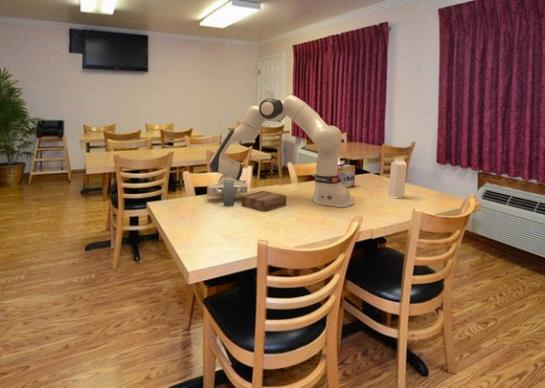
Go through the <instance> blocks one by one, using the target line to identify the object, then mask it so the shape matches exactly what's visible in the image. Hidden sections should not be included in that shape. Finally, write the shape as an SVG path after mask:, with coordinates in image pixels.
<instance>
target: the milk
mask: <svg viewBox="0 0 545 388" xmlns="http://www.w3.org/2000/svg"><path fill="white" fill-rule="evenodd" d="M407 166H408V164H407V163H406V161H405V158H404V157H394V159H393V161H392V162H391V163H390V173H389V184H388V196H389V195H390V196H393V197H405V189H406V188H405V187H406V177H407Z"/></svg>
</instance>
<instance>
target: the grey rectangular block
mask: <svg viewBox="0 0 545 388" xmlns="http://www.w3.org/2000/svg"><path fill="white" fill-rule="evenodd" d="M234 194H235V193H234V181H224V194H223V206H224V207H233V206H234V205H235V196H234Z"/></svg>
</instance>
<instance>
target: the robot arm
mask: <svg viewBox="0 0 545 388" xmlns="http://www.w3.org/2000/svg"><path fill="white" fill-rule="evenodd" d="M286 117H288V118H289V119H290V120H291V121H293V122H294V123H295V124H296V125H297V126H298V127H299V128H301V130H302V131H303V132H304V133H305V134H306V135H307V136H308V138H309V139H310V140H311V141H312V142H313V143H314V146H315V147H317V148H318V152H317V156H316V160H315V161H316V164H315V165H316V167H315V174H314V183H315V184H314V191H313V195H312V198H311V201H312V202H313V203H314V204H315V205H321V206H322V205H323V206H329V207H335V208H347V207H351V206H353V205H354V203H355V200H352V198H351V193H350V190H349V189H348V188H345V187H344V186H343V185H342V184H341V183H340V179H341V178H342V177H339V176H338V175H337V169H338V165H339V156H340V151H341V143H342V138H343V137H342V131H341V130H340V129H339V127H337V126H334V125H328V124H327V123H326V122H325V121H324V120H323V119H322V118H321V117H320V114H318V113H317V112H316V111H315V110H314V109H313V108H312V107H311V106H310V105H309V104H308V103H306V102H305V101H304V100H303V99H302V100H301V99H300V98H299V97H297V96H296V95H292V94H290V95H288V96H286V97H285V98H284V99H283V100H280V99H276V98H266V99H263V100H262V101H261V102H260V104H259V105H251V106H249V107H248V109H247V110H246V112H245V113H244V115H243V117H242V120H241V121H240V123H239V125H238V126H237V127H235V128H231V130H229V132H228V133H227V135H226V136H225V137H224V139H223V141H222V142H221V144H220V146H219V147H218V148H217V150H216V152H215V153H214V154H213V155H212V157H211V158H210V160H209V165H208V167H209V168H210V170H211V172H214V173H217V174H220V175H221V176H220V177H219V179H218V183H217V184H216V183H214V184H212V183H211V184H209V185H208V186H207V189H208V194H212V195H213V194H215V195H216V194H219V195H221V194H222V195H224V181H234V194H242V193H243V194H244V193H248V184H247V183H246V182H244V180H242V179H241V177H242V175H243V170H244V169H243V164H242V162H240V161H237V160H234V159H232V158H230V157H227V156H226V155H224V154H226V152H227V150H228V148H229V147H230V146H231V144H232V143H236V142H251V141H253V140H255V139H257V137H258V135H259V133H260V131H261V129H262V126H263V124H264V123H265V122H266V121H269V122H275V123H277V122H281V121H283V120H284V119H285V118H286Z"/></svg>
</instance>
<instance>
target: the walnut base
mask: <svg viewBox="0 0 545 388" xmlns="http://www.w3.org/2000/svg"><path fill="white" fill-rule="evenodd" d="M241 206H242V207H246V208H249V209H253V210H256V211H257V210H258V211H262V212H265V213H266V212H268V211H272V210H277V209H279V208H282V207H285V206H287V195H285V194H281V193H275V192H271V191H266V190H260V191H257V192H253V193H249V194H245V195H241Z"/></svg>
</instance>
